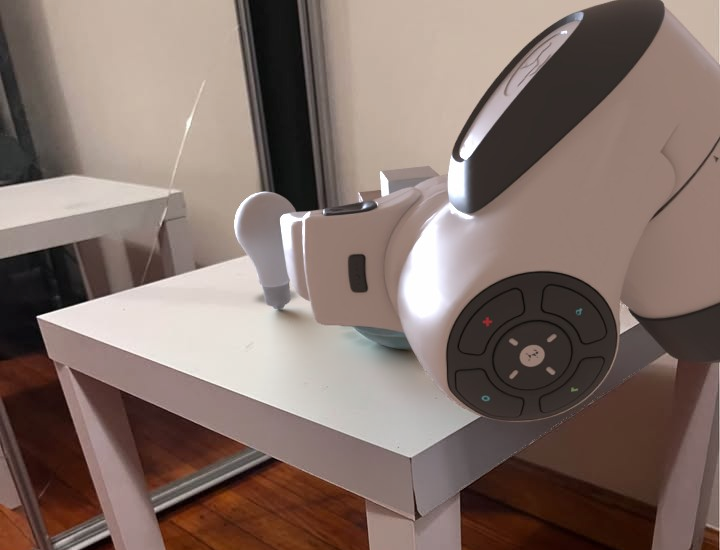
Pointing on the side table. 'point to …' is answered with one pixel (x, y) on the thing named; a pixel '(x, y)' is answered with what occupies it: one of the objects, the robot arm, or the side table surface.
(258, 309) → the side table surface
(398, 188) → the two-tone tall pillar
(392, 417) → the side table surface
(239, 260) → the side table surface
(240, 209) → the lightbulb
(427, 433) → the side table surface
